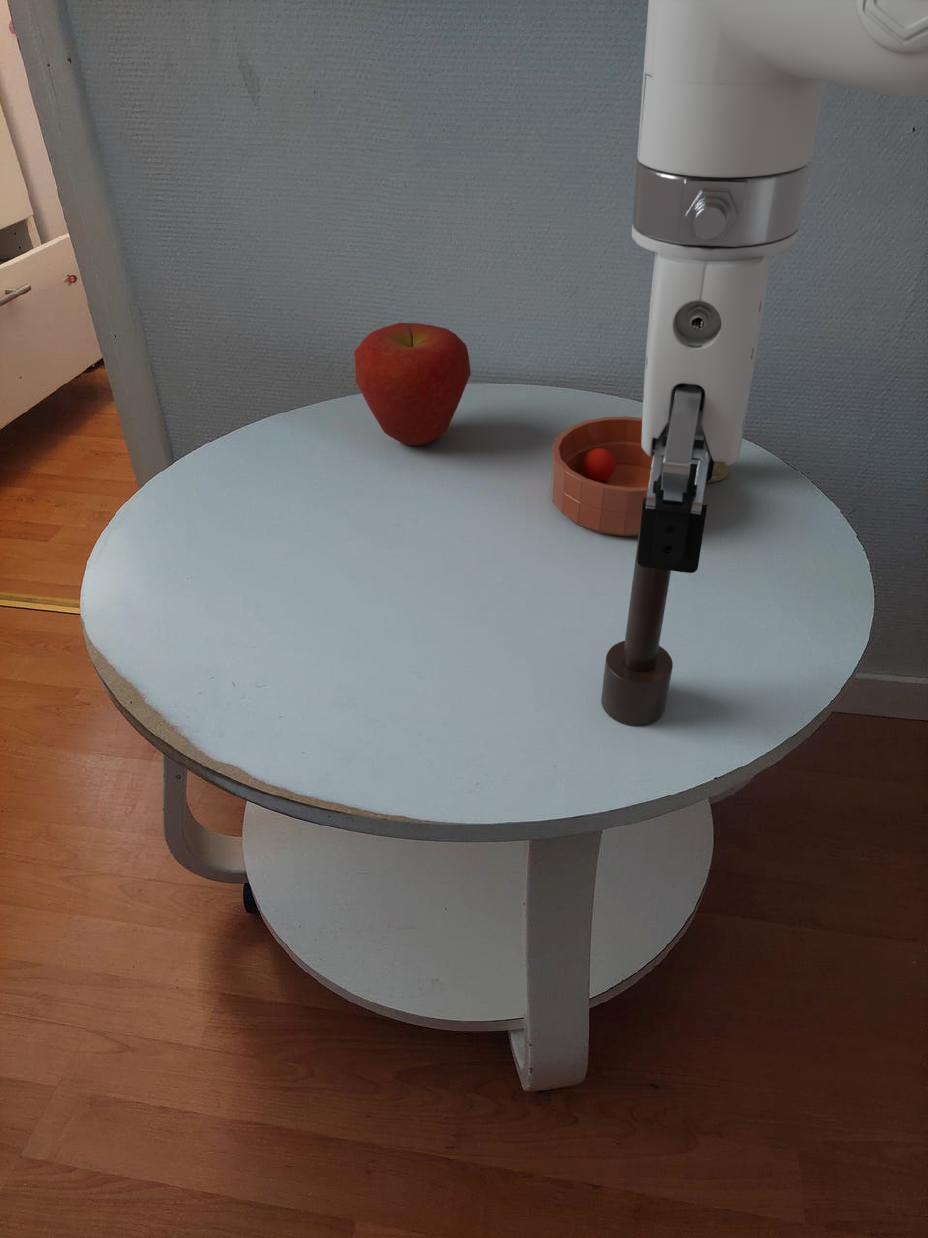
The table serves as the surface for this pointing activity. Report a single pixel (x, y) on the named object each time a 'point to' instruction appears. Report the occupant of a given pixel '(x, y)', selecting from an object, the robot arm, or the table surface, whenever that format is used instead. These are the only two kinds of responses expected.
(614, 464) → the berry
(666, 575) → the brown wooden peg
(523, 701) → the table surface
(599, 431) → the bowl
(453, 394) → the apple
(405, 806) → the table surface
